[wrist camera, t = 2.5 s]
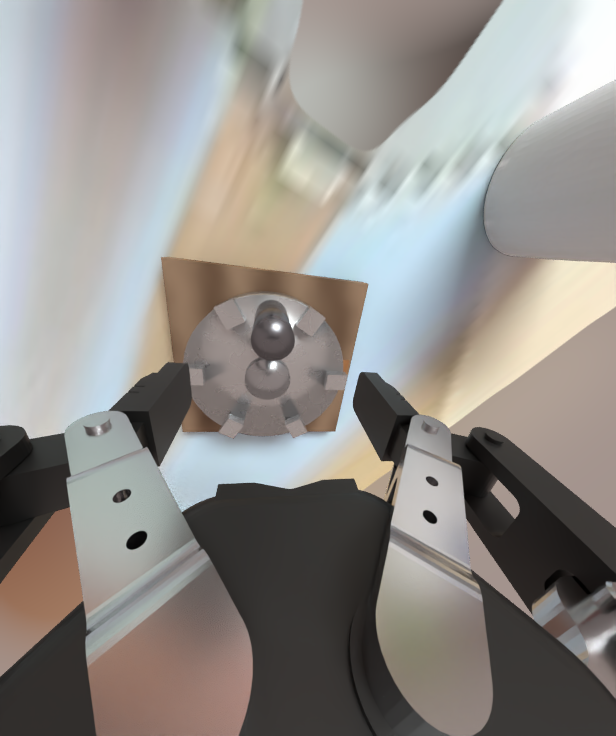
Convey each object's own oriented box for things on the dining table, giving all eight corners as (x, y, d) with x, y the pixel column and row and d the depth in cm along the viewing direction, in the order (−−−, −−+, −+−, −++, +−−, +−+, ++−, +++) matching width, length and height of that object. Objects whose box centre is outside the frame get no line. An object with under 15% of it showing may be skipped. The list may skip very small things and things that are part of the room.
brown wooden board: (187, 422, 34) (182, 432, 32) (168, 256, 25) (160, 257, 23) (332, 423, 38) (335, 432, 36) (362, 282, 29) (369, 284, 27)
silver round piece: (194, 422, 31) (163, 494, 22) (181, 281, 24) (125, 299, 14) (326, 422, 35) (348, 485, 26) (351, 300, 27) (394, 325, 18)
